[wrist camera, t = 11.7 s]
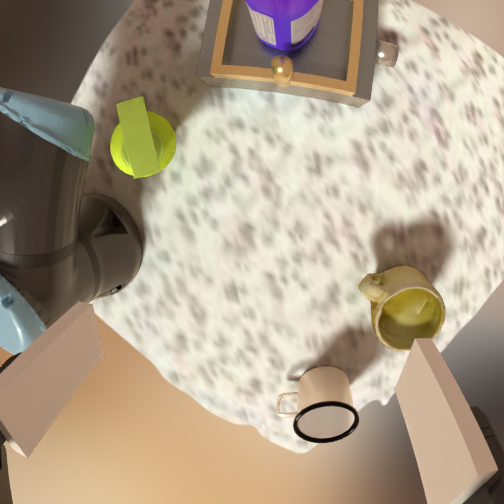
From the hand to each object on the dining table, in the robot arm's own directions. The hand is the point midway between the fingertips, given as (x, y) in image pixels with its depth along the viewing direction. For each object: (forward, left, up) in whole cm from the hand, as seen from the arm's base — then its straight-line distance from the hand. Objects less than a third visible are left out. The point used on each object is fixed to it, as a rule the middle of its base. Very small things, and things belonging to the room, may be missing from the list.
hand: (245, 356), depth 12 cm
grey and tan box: (0, +21, -29) cm, 36 cm away
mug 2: (+17, -8, -29) cm, 34 cm away
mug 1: (+11, -27, -29) cm, 41 cm away
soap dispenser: (-18, +8, -27) cm, 34 cm away
